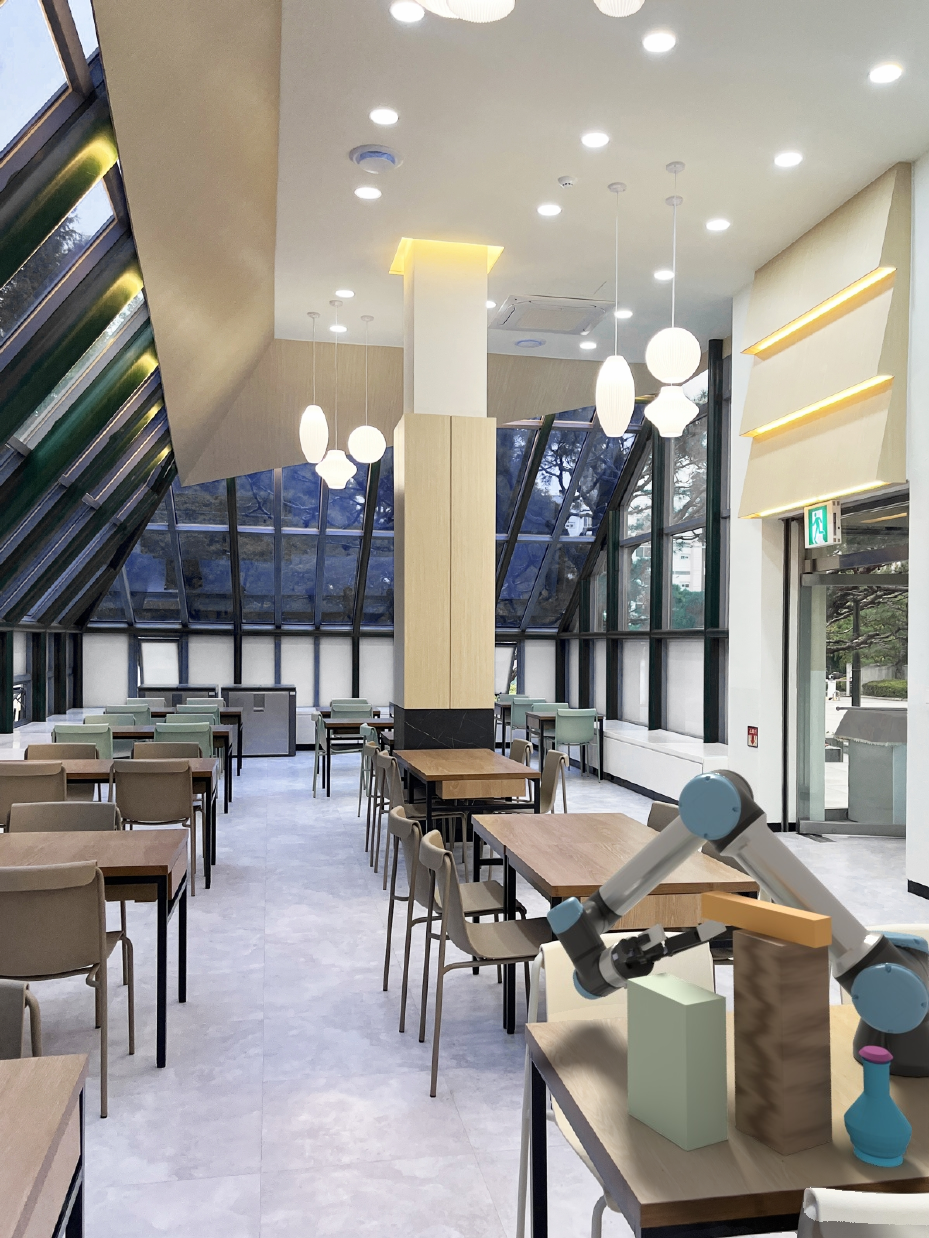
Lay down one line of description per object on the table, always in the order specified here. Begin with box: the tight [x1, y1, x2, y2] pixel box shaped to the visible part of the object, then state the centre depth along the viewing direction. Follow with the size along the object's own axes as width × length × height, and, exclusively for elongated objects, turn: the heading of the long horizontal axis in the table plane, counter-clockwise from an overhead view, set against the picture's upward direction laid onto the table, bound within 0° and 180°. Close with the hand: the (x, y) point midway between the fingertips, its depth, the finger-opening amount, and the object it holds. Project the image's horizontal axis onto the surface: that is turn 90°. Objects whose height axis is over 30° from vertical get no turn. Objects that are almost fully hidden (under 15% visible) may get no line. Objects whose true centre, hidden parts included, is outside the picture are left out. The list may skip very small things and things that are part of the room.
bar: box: [700, 889, 832, 948], centre depth 148 cm, size 22×4×4 cm, turn 34°
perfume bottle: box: [843, 1046, 913, 1168], centre depth 137 cm, size 9×9×15 cm
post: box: [732, 928, 833, 1156], centre depth 144 cm, size 10×10×30 cm
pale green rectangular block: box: [626, 972, 729, 1152], centre depth 146 cm, size 14×8×21 cm, turn 28°
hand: (693, 926), depth 163 cm, fingers open, 13 cm apart
